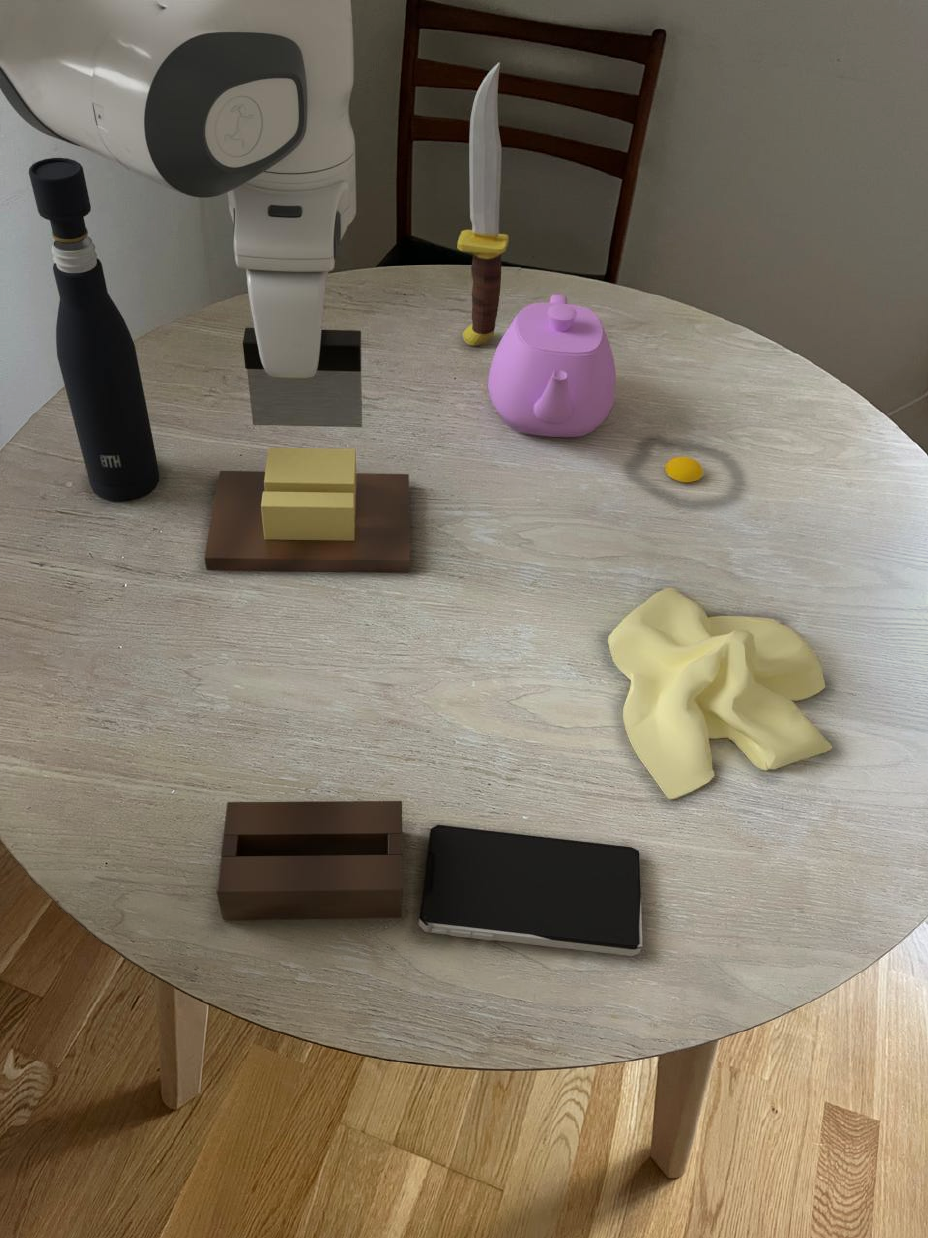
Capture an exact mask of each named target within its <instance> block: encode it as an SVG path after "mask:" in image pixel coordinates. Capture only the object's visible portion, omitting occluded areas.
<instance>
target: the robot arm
mask: <svg viewBox="0 0 928 1238" xmlns="http://www.w3.org/2000/svg"><path fill="white" fill-rule="evenodd" d="M352 15H353V13H352V4H351V0H0V91H1V92H2V94H3V96H4V97H5V99H6V100H7V101H8V103H9V105H10V106H11V107H12V108H13V110H14V111H15V112H16V113H17V114H18V115H19V116H20V117H21V118H22V119H23V120H24V121H25V122H26V123H27V124H29V125H30V126H31V127H33V128H34V129H36V130H37V131H39V132H40V133H42V134H45V135H46V136H50V137H51V138H54V139H57V140H60V141H63V142H65V143H68V144H71V145H74V146H76V147H81V148H83V149H85V150H87V151H90V152H91V153H93V154H96V155H98V156H99V157H102V158H104V159H106V160H108V161H110V162H112V163H114V164H116V165H118V166H120V167H123V168H124V169H126V170H128V171H131V172H134V173H135V174H137V175H139V176H142V177H143V178H145V179H147V180H150V181H151V182H154V183H156V184H159V185H160V186H162V187H165V188H166V189H170V190H172V191H174V192H176V193H177V192H178V193H180V194H184V195H187V196H190V197H194V198H201V199H203V198H206V199H207V198H213V197H218V196H222V195H224V194H227V198H228V199H227V200H228V207H229V208H228V209H229V214H230V216H231V221H232V223H233V230H232V235H233V236H232V237H233V239H232V240H233V251H234V260H235V265H236V267H237V268H239V269H243V270H244V269H245V270H246V283H247V284H246V285H247V292H248V299H249V305H250V311H251V317H252V322H253V328H255V334H256V339H257V344H258V349H259V354H260V359H261V362H262V365H263V367H264V369H265V371H266V373H267V374H268V375H269V376H272V377H286V378H310V377H313V376H314V375H315V374H316V372H317V368H318V362H319V353H320V343H321V331H322V330H323V317H324V306H325V295H326V288H327V281H328V277H329V272H332V271H333V270H334V268H335V264H336V260H337V258H338V254H339V253H338V252H339V248H340V244H341V242H342V239H343V237H344V235H345V233H346V232H347V229H348V226H349V225H350V224H351V223H352V222H353V221H354V219H355V218H356V215H357V177H356V176H357V173H356V170H357V168H356V167H357V166H356V138H355V134H354V129H353V127H352V123H351V120H350V119H351V118H350V114H349V113H350V111H349V110H350V109H349V107H350V99H351V94H352V91H353V87H354V80H355V56H354V55H355V53H354V49H355V48H354V29H353V17H352Z"/></svg>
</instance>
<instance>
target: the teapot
mask: <svg viewBox="0 0 928 1238" xmlns="http://www.w3.org/2000/svg"><path fill="white" fill-rule="evenodd" d="M489 367H490V368H489V373H488V379H487V386H488V387H487V389H488V394H489V397H490V400H491V403H492V406H493V407H494V409H495V411H496V413H497V414H498V415H499V417H500V419H501V420H502V421H503V422H504V423H505V424H506V425H507V426H508V427H509V428H511V429H512V430H515V431H517V432H521V433H524V434H529V435H536V436H540V437H541V436H542V437H550V438H551V437H552V438H577V437H582V436H583V437H584V436H585V435H587V434H589V433H591V432H593V431H594V430H595V429H596V428H598V427H599V426H600V425H601V424H602V423H603V422H604V421H605V420H606V418H607V417H608V415H609V413H610V411H611V410H612V407H613V405H614V401H615V396H616V379H617V377H616V367H615V359H614V356H613V351H612V348H611V345H610V341H609V338H608V336H607V332H606V330H605V327H604V324H603V323H602V321H601V319H600V317H599V316H598V314H597V313H595V312H594V311H593V310H592V309H590V308H588V307H584V306H581V305H575V304H568V297H567V296H566V295H563V294H552V295H551V296H550V297H549V302H532V303H530V304H527V305H525V306H524V307H523V308H522V309H521V310H520V311H519V312H518V313H517V315H516V316H515V317H514V319H513V320H512V322H511V324H510V325H509V326H508V328H507V329H506V331H505V333H504V334H503V336H502V338H501V339H500V341H499V343H498V345H497V347H496V350H495V352H494V354H493V358H492V360H491V364H490V366H489Z"/></svg>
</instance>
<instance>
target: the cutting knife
mask: <svg viewBox="0 0 928 1238" xmlns="http://www.w3.org/2000/svg"><path fill="white" fill-rule="evenodd" d="M242 351H243V360H244V369H246V371H247V382H248V390H249V401H250V409H251V417H252V418H251V419H252V425H253V426H276V427H278V426H280V427H281V426H283V427H285V426H286V427H326V428H328V427H329V428H331V427H332V428H333V427H334V428H362V427H363V398H362V396H363V391H362V390H363V388H362V387H363V385H362V382H363V381H362V331H361V330H357V329H355V330H353V329H322V331H321V343H320V353H319V362H318V368H317V372H316V374H315V375H314V376H313V377H310V378H286V377H272V376H269V375H268V374H267V373H266V371H265V369H264V367H263V365H262V362H261V359H260V354H259V349H258V344H257V339H256V334H255V328H254V327H245V328H244V333H243V338H242Z"/></svg>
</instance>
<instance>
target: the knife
mask: <svg viewBox="0 0 928 1238" xmlns="http://www.w3.org/2000/svg"><path fill="white" fill-rule="evenodd" d="M500 66H501V62H500V61H499V62H498V63H496V64H495V65H494V66H493V67H492V68H491V69H490V70H489V72H488V73H487V75H486V76H485V77H484V78H483V80H482V82H481V84H480V86H479V87H478V89H477V91H476V94H475V97H474V100H473V103H472V109H471V112H470V113H471V114H470V121H469V138H468V139H469V141H468V143H469V144H468V146H469V148H468V149H469V150H468V151H469V152H468V153H469V155H468V157H469V159H468V160H469V162H468V163H469V167H468V169H469V218H470V219H469V220H470V222H471V229H464V230H461V231H460V235H458V240H457V244H456V245H457V250H459V251H460V252H467V253H471V254H472V262H471V269H470V271H471V272H470V275H471V278H472V288H471V307H472V308H471V322H472V323H471V324H470V325H469V326H468V327H466V328H465V330H463V332H462V337H463V340H464V342H465V343H466V344H467V345H469V346H475V347H476V346H480V345H483V344H485V343H486V342H488V341H489V340H490V339H492V338H493V336H494V335H495V329H496V321H497V317H498V311H499V302H500V294H501V284H502V254H503V253H505V252H506V251H507V248H508V246H509V242H510V237H509V235H508V234H504V233H500V205H501V204H500V203H501V202H500V201H501V199H500V198H501V180H502V178H501V177H502V143H501V136H500V129H499V114H498V113H499V112H498V111H499V109H498V90H499V77H500Z"/></svg>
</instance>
